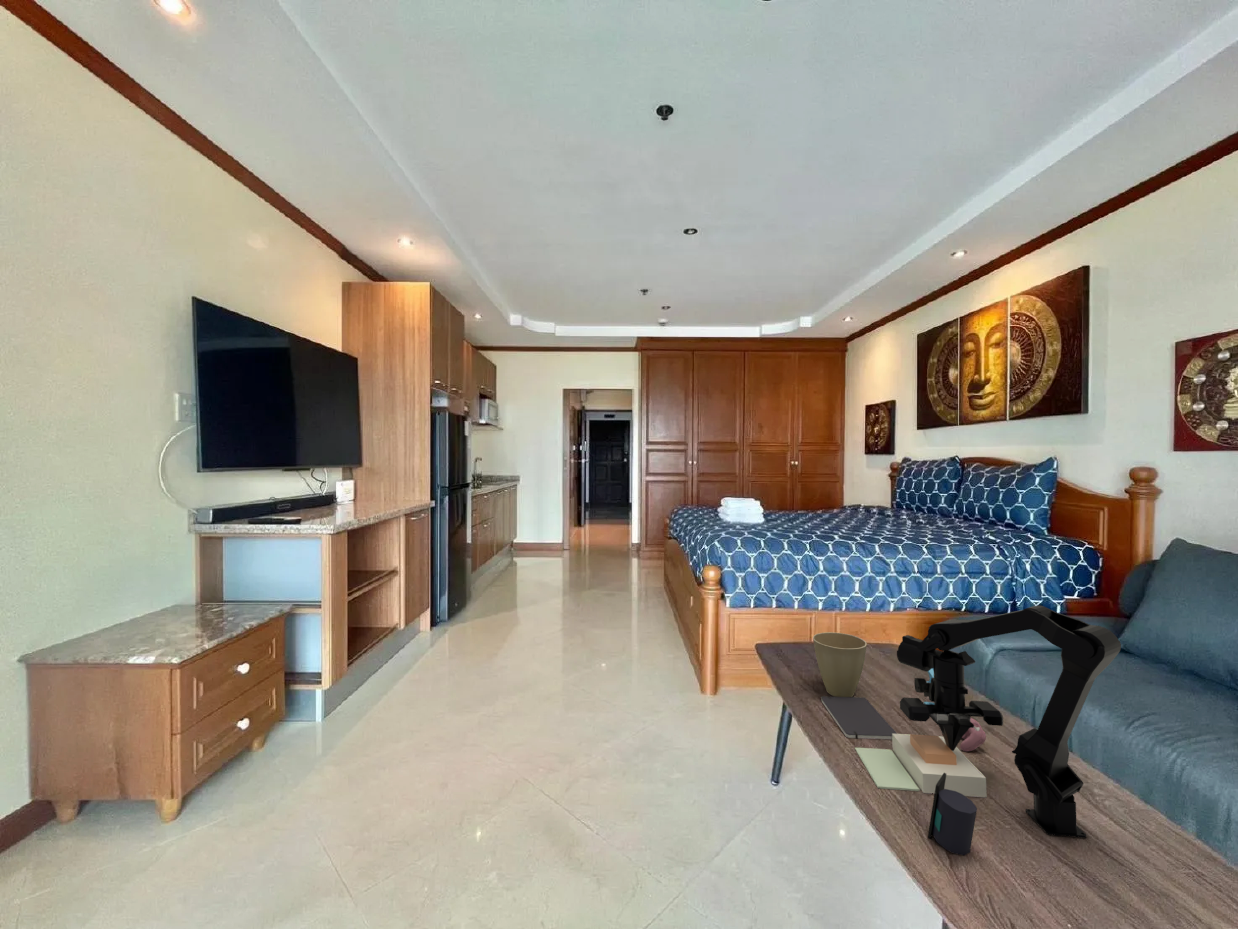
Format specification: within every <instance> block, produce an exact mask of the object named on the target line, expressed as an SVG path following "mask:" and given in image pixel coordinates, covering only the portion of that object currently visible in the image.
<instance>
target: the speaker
mask: <svg viewBox="0 0 1238 929" xmlns="http://www.w3.org/2000/svg"><path fill="white" fill-rule="evenodd" d="M945 780H946V773H943V775H942V776H941V778H940V779H939V781H938V782H937V784H936V787H935V794H934V795H933V800H932V808H931V814H930V820H929V826H928V834H927V838H928V839H931V838H932V837H934V839H935V842H937V843H938V844H939V845H940V846H942V847H943V848H944V849H945V850H946V851H948V852H949V853H952V854H957V855H961V856H966V855H968V854H970V853H971V847H972V841H973V836H974V829H975V823H976V818H977V817H976V816H977V812H978V808H977V806H976V805H975V803H974V802H973V800H971V799H970V798H968V796H964V795H963V794H961V793H959V792H956V791H952V790H948V789H944V786H945Z"/></svg>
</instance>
